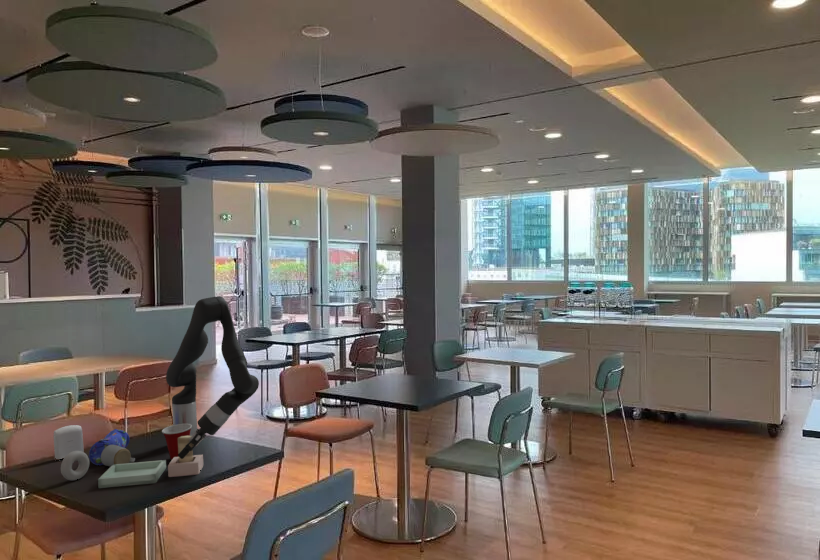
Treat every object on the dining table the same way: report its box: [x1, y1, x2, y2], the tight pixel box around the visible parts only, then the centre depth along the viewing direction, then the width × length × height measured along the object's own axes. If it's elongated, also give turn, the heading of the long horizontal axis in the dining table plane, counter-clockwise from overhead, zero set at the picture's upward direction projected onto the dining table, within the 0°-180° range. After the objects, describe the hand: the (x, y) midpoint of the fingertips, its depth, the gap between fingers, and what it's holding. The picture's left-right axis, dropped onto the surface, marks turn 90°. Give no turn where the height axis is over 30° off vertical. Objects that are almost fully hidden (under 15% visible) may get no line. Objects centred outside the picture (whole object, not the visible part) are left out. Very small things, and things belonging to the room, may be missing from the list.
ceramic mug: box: [101, 445, 136, 468], centre depth 226 cm, size 11×8×8 cm
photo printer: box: [53, 424, 85, 459], centre depth 240 cm, size 10×4×12 cm, turn 137°
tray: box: [97, 459, 167, 489], centre depth 211 cm, size 16×18×3 cm
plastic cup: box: [161, 424, 192, 461], centre depth 232 cm, size 11×11×12 cm
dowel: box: [178, 436, 194, 463], centre depth 216 cm, size 5×5×12 cm
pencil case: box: [88, 428, 131, 466], centre depth 237 cm, size 22×9×10 cm, turn 7°
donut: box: [60, 451, 90, 481], centre depth 212 cm, size 10×4×10 cm, turn 154°
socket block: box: [167, 454, 204, 478], centre depth 216 cm, size 10×10×4 cm
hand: (182, 453), depth 216 cm, fingers open, 8 cm apart
